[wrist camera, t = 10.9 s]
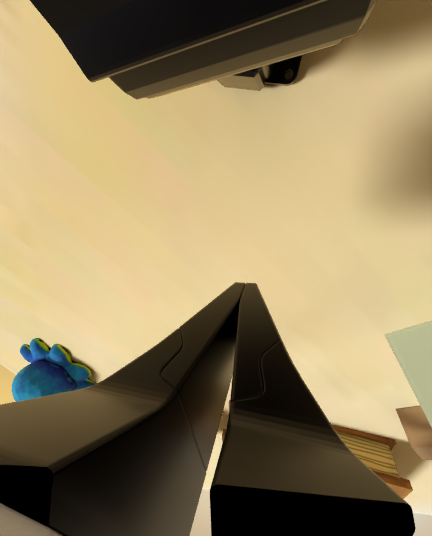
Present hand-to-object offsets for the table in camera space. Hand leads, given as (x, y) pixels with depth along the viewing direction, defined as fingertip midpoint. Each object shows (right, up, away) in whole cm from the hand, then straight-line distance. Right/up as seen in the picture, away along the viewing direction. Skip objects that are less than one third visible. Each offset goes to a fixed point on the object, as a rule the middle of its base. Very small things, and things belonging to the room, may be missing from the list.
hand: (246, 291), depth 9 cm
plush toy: (-34, -20, +38) cm, 55 cm away
